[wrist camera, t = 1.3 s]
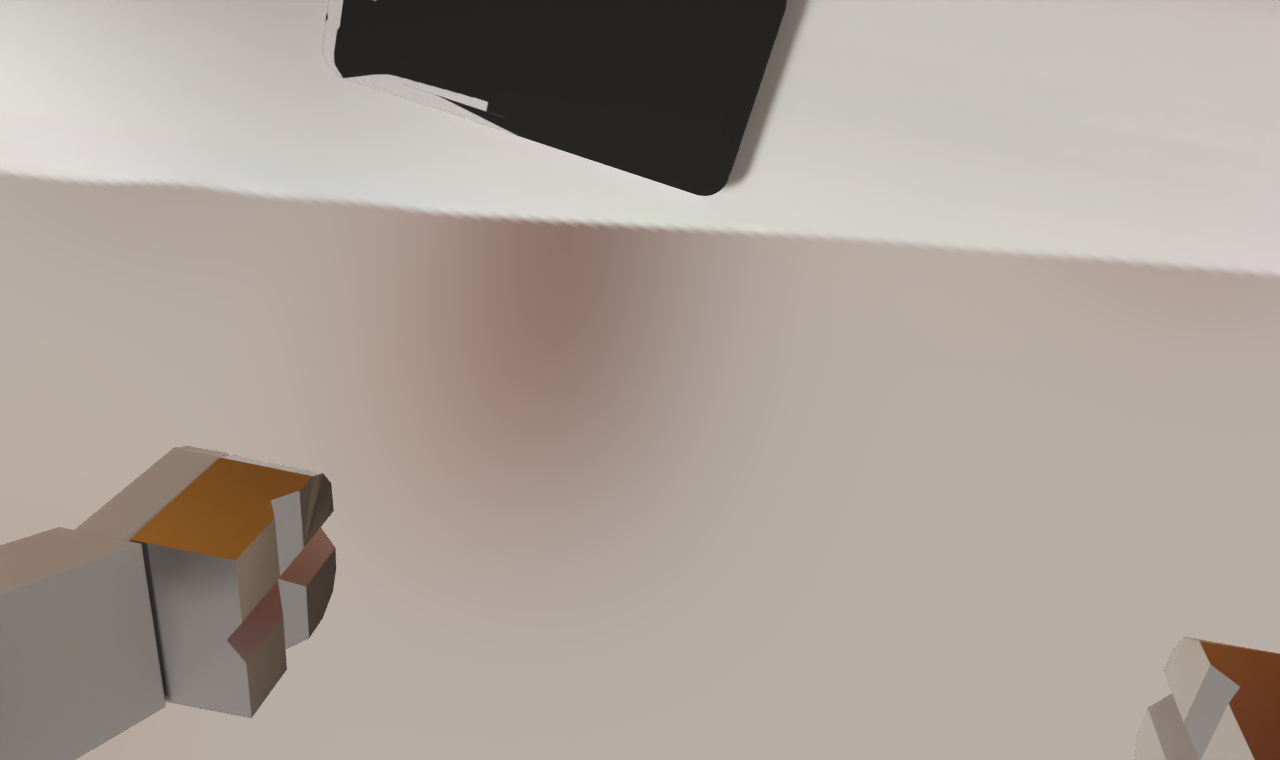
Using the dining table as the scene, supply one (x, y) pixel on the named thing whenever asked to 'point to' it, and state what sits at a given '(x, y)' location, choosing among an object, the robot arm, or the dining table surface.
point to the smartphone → (575, 72)
